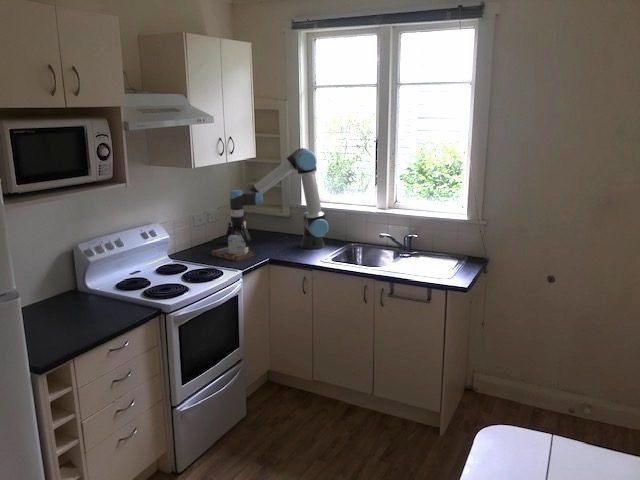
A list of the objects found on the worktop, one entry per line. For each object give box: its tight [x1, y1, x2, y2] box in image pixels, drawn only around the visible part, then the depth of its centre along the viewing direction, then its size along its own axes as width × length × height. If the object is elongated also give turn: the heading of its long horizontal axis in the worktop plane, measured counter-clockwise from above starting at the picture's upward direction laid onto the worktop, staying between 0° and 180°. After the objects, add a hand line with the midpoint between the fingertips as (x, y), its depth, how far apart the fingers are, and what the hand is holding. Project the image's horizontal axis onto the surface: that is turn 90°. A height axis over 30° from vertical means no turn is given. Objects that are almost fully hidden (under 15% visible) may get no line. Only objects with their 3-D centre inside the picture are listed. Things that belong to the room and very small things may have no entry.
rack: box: [210, 245, 256, 262], centre depth 341 cm, size 23×16×2 cm
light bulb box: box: [227, 235, 247, 254], centre depth 336 cm, size 11×7×11 cm, turn 84°
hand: (238, 250), depth 337 cm, fingers open, 13 cm apart
